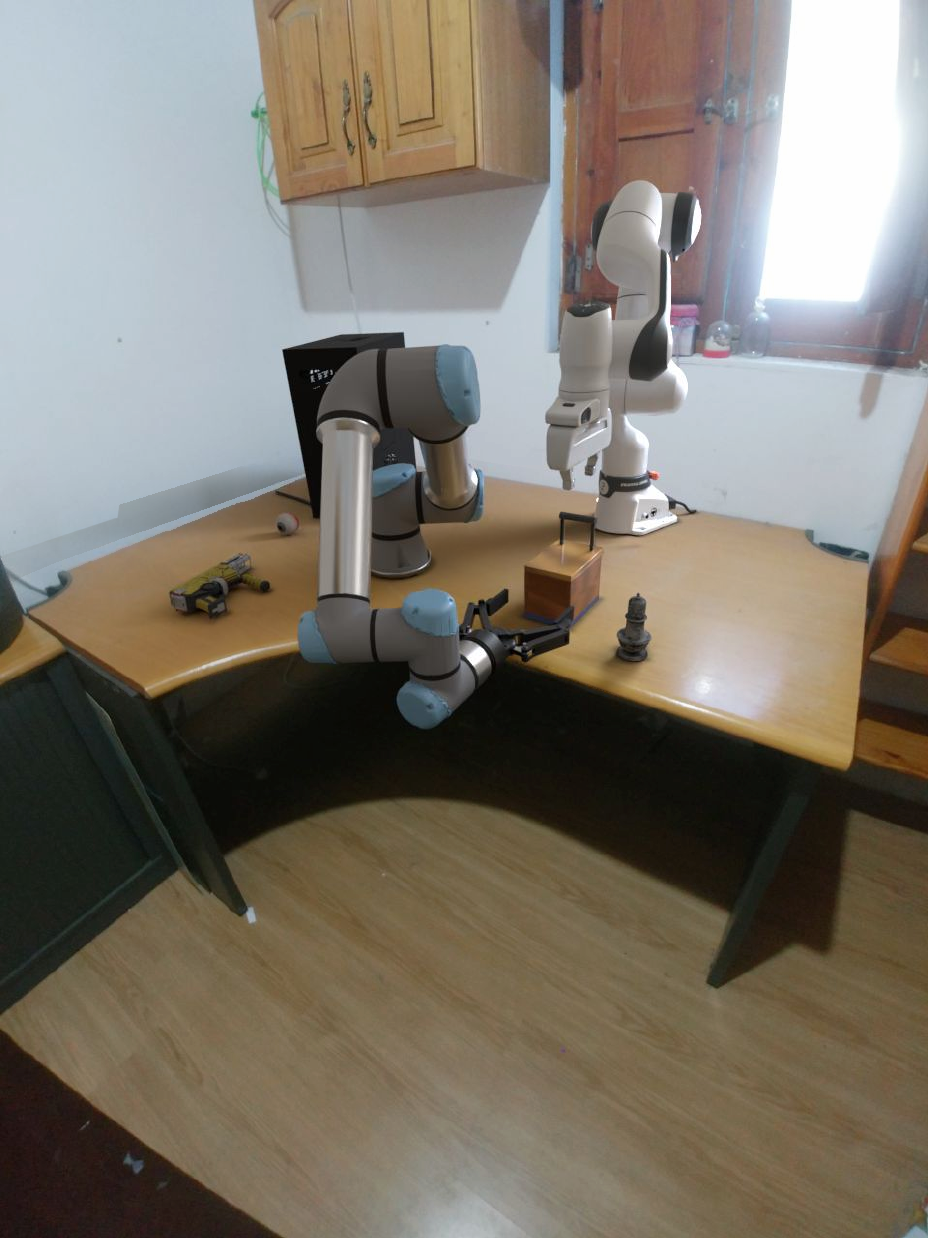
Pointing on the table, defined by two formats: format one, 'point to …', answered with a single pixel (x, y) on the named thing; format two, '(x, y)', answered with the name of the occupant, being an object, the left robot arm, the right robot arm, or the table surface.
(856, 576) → the table surface
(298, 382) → the black computer case
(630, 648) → the grey chess piece
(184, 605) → the toy gun
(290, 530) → the eyeball
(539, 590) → the chest
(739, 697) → the table surface
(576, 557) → the lid
